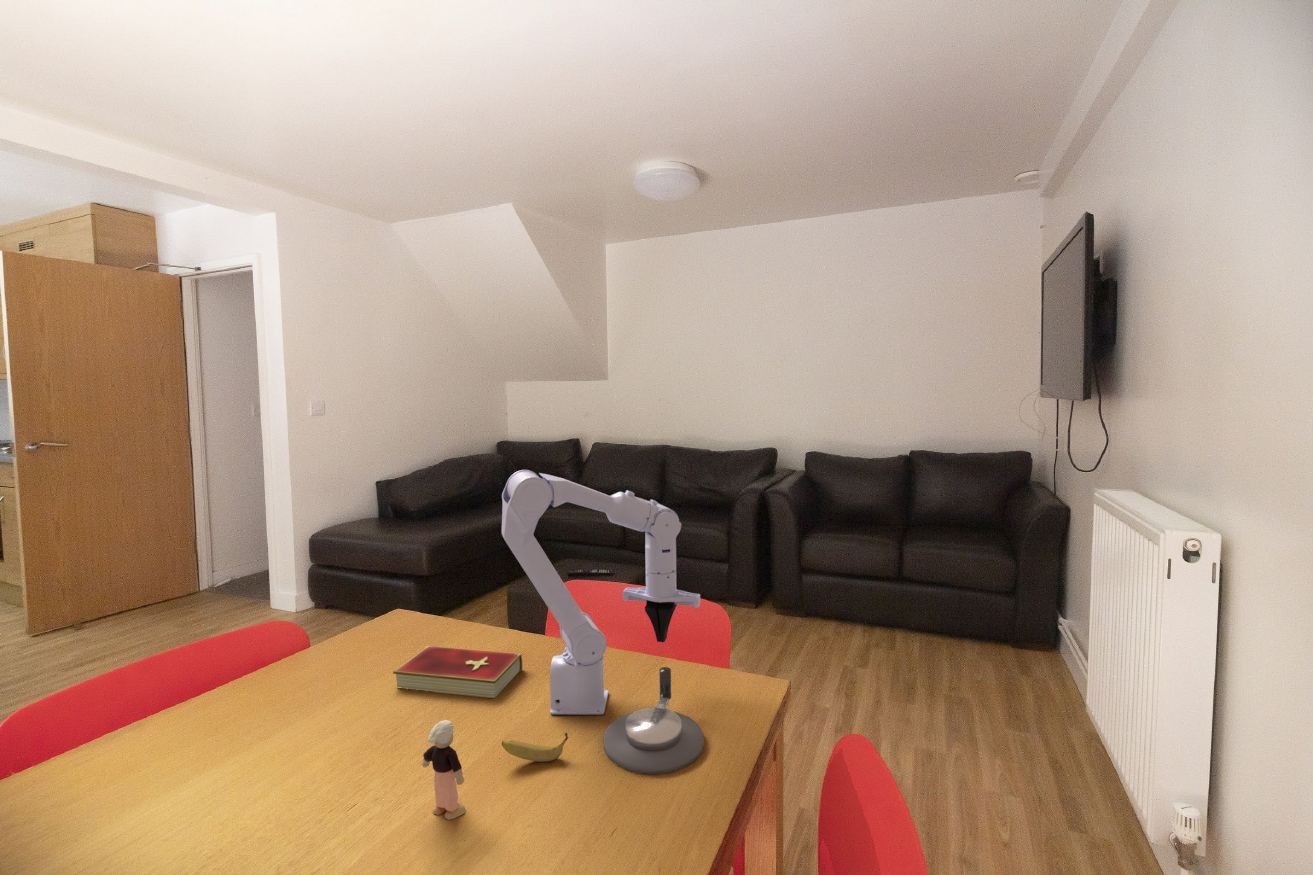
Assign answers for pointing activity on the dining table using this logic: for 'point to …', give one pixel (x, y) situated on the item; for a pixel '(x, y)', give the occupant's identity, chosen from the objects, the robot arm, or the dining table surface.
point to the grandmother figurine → (444, 770)
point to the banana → (534, 750)
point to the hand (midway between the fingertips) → (661, 639)
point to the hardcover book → (459, 671)
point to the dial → (655, 721)
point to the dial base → (653, 759)
